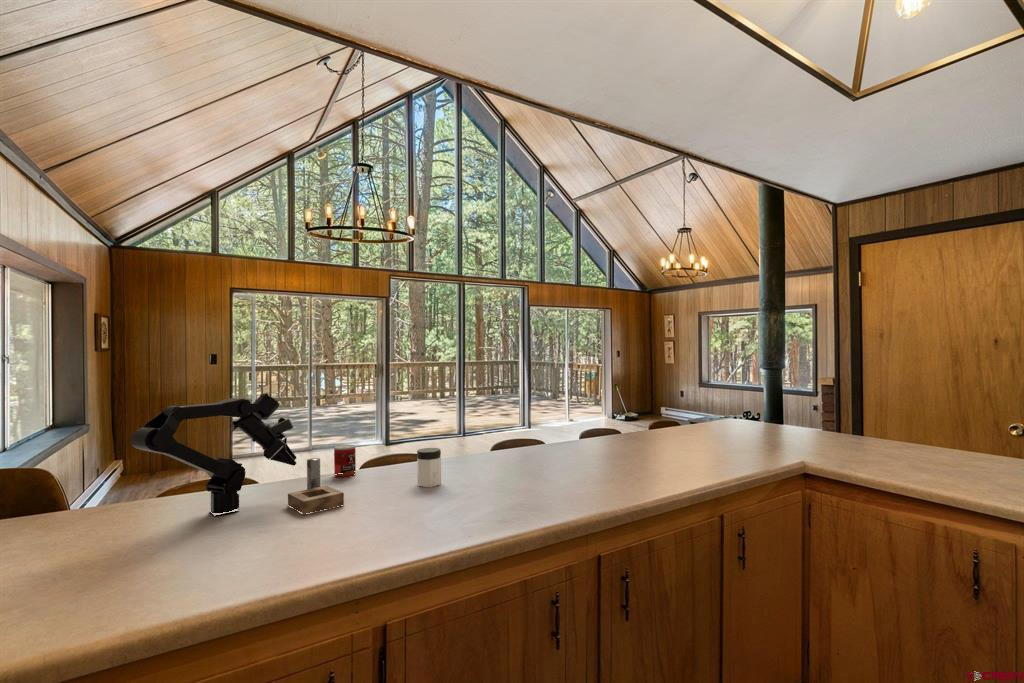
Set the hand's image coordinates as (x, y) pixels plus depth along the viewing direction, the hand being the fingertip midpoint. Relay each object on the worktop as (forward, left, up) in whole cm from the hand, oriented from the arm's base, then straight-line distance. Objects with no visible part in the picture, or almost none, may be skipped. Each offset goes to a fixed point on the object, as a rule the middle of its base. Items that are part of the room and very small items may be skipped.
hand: (295, 461), depth 160 cm
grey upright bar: (+5, -2, -12) cm, 13 cm away
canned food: (+25, +17, -12) cm, 32 cm away
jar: (+39, -18, -12) cm, 45 cm away
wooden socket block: (+1, -13, -12) cm, 18 cm away
